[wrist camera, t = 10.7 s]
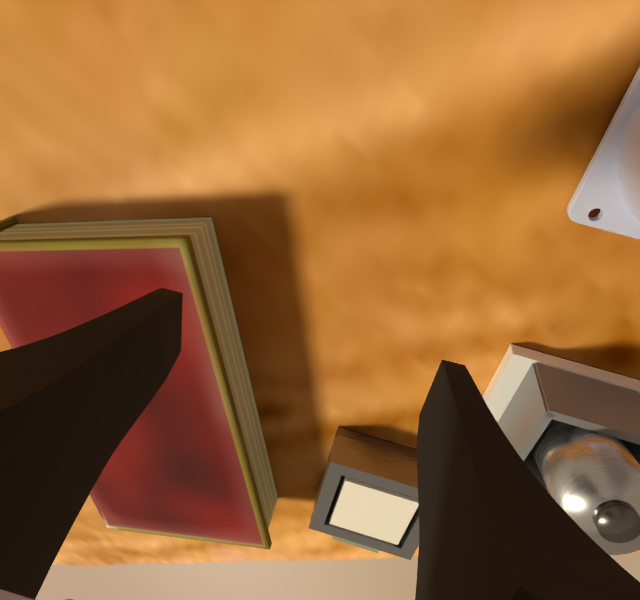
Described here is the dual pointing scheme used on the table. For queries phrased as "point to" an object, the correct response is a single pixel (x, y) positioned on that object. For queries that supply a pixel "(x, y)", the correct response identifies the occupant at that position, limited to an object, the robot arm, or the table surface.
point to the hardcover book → (179, 387)
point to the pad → (373, 510)
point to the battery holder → (560, 401)
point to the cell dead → (593, 483)
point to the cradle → (374, 468)
